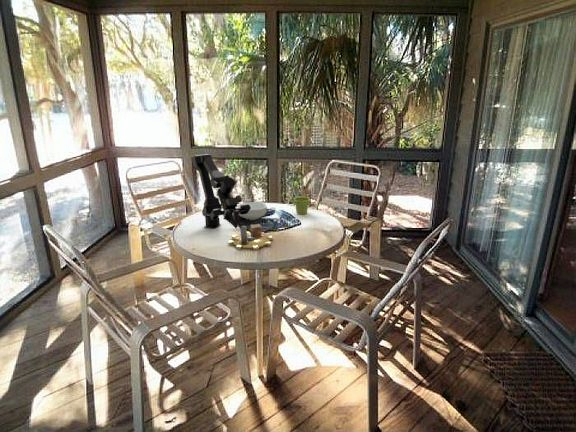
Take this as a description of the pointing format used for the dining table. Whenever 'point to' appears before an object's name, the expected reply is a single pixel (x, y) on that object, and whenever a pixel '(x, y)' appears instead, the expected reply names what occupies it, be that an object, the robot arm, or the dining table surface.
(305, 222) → the dining table surface
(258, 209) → the cereal bowl
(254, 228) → the block
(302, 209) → the plant pot
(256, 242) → the sprocket
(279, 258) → the dining table surface
